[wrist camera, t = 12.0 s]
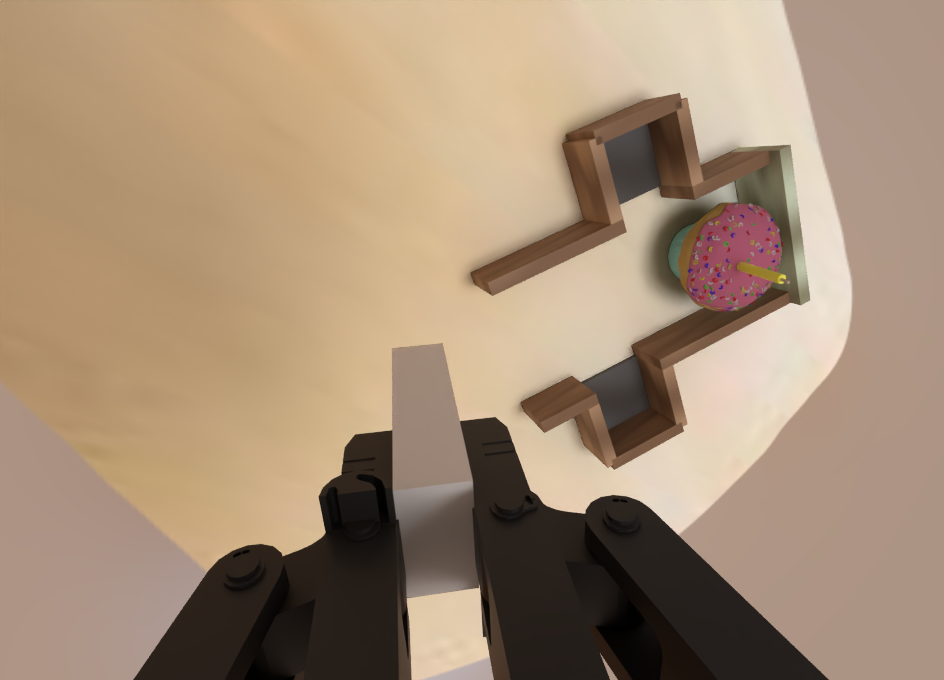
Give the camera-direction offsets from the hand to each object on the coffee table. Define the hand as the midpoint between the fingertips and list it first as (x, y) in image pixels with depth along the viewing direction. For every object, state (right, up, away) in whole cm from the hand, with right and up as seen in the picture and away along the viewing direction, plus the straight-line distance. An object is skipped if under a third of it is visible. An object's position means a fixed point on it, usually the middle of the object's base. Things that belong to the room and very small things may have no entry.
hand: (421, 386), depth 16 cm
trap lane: (+14, +6, +29) cm, 33 cm away
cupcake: (+20, +9, +30) cm, 37 cm away
